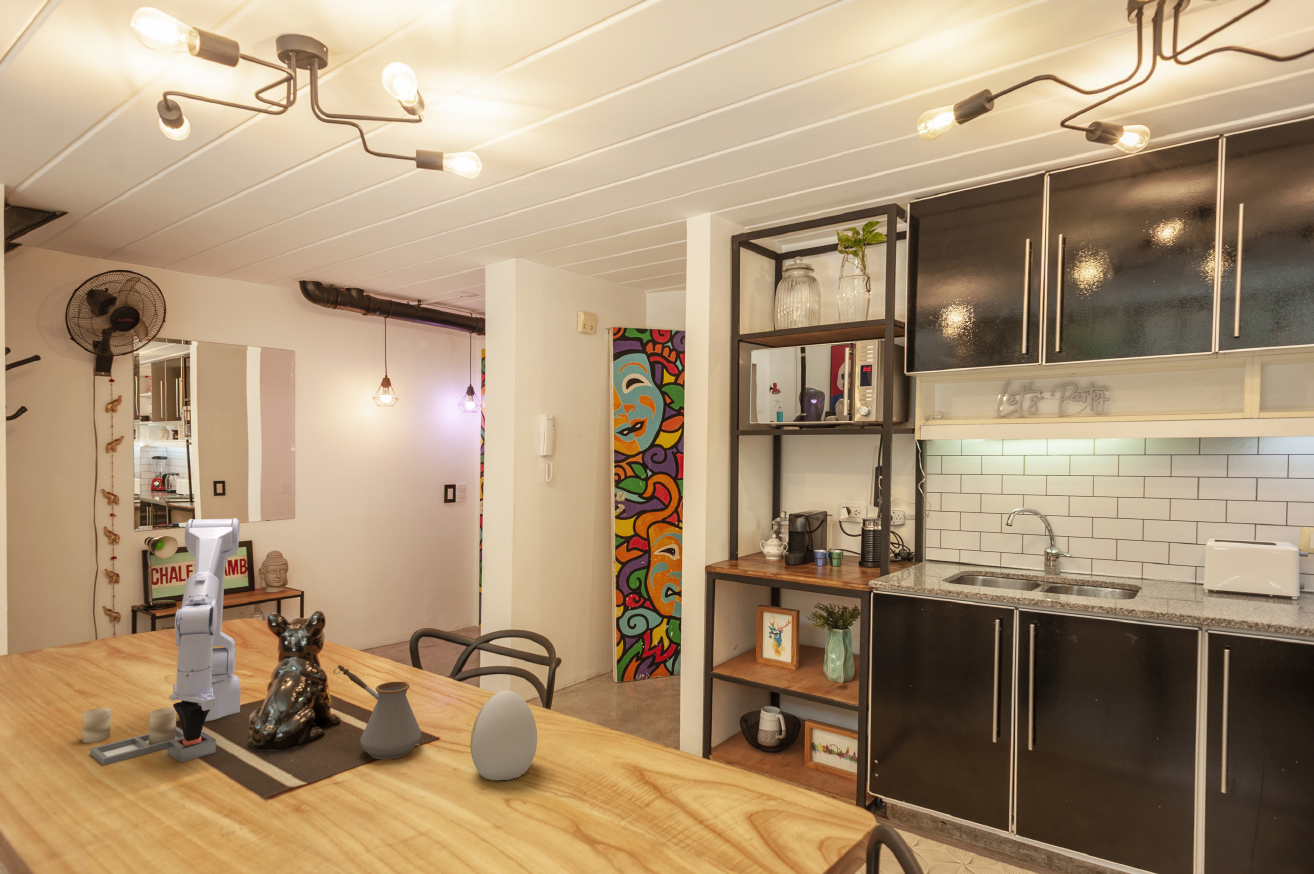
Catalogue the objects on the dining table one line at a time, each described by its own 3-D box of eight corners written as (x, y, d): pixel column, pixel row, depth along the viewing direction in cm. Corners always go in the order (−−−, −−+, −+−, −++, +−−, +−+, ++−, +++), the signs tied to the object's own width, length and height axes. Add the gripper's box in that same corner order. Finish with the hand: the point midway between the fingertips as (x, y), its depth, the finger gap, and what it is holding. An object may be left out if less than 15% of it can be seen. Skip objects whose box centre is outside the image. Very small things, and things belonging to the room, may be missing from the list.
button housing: (202, 749, 142) (202, 731, 142) (215, 757, 139) (215, 739, 139) (167, 759, 138) (168, 741, 138) (180, 768, 134) (180, 749, 134)
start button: (197, 747, 140) (197, 734, 140) (203, 751, 138) (204, 738, 138) (179, 752, 138) (180, 739, 138) (186, 756, 136) (186, 743, 136)
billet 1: (105, 735, 147) (106, 706, 147) (113, 741, 145) (114, 711, 145) (78, 742, 144) (80, 711, 144) (86, 748, 141) (87, 717, 141)
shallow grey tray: (175, 737, 148) (176, 726, 148) (191, 746, 144) (191, 735, 144) (89, 760, 137) (90, 748, 137) (103, 771, 132) (103, 759, 132)
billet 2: (170, 736, 146) (171, 706, 146) (178, 741, 143) (180, 711, 143) (144, 742, 142) (145, 712, 143) (153, 748, 140) (154, 717, 140)
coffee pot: (433, 746, 146) (435, 672, 146) (390, 768, 136) (392, 688, 136) (357, 727, 155) (359, 657, 156) (311, 746, 145) (313, 671, 145)
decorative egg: (513, 752, 144) (514, 677, 144) (549, 772, 135) (551, 692, 135) (457, 770, 135) (459, 690, 136) (492, 793, 127) (494, 707, 127)
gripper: (156, 665, 140) (153, 735, 139) (186, 680, 131) (184, 755, 131) (196, 657, 145) (194, 725, 145) (228, 671, 137) (226, 743, 136)
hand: (192, 739), depth 138 cm, fingers closed, pressing on start button
